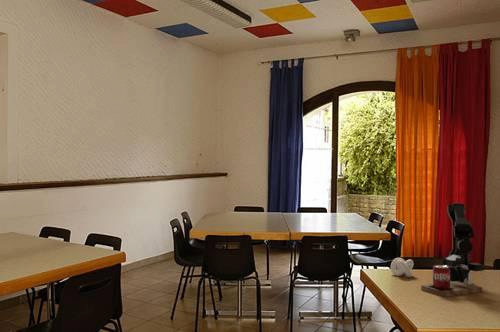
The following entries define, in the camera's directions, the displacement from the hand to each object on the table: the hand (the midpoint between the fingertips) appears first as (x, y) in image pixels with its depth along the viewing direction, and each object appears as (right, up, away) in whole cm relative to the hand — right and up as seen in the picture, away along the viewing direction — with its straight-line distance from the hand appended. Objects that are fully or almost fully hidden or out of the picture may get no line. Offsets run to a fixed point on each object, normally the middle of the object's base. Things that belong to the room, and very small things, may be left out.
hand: (462, 282), depth 206 cm
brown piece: (-6, -3, -3) cm, 7 cm away
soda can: (-12, -3, -6) cm, 14 cm away
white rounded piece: (-19, -4, +27) cm, 34 cm away
